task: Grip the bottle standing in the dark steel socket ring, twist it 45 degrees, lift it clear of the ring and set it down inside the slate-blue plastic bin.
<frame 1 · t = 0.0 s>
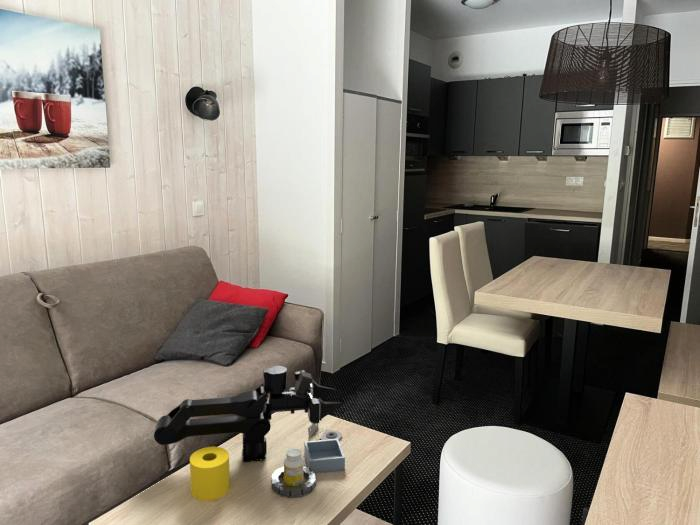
hand: (338, 397, 161), 17 cm above the table, tool horizontal, fingers open, 9 cm apart
yellow paper roll: (210, 489, 143), on the table
socket ring: (293, 484, 146), on the table
supplement bottle: (293, 484, 146), resting in socket ring
bin: (324, 461, 157), on the table
bracket: (325, 436, 172), on the table
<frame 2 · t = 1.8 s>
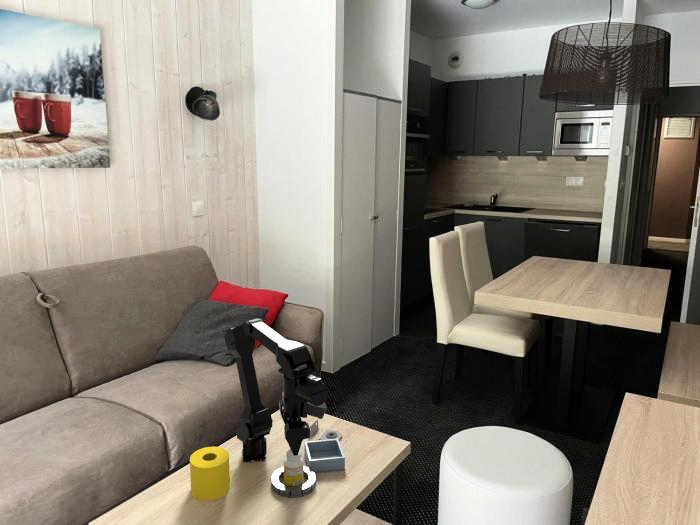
hand: (293, 445, 144), 11 cm above the table, tool pointing down, fingers open, 9 cm apart
nothing on the table moved.
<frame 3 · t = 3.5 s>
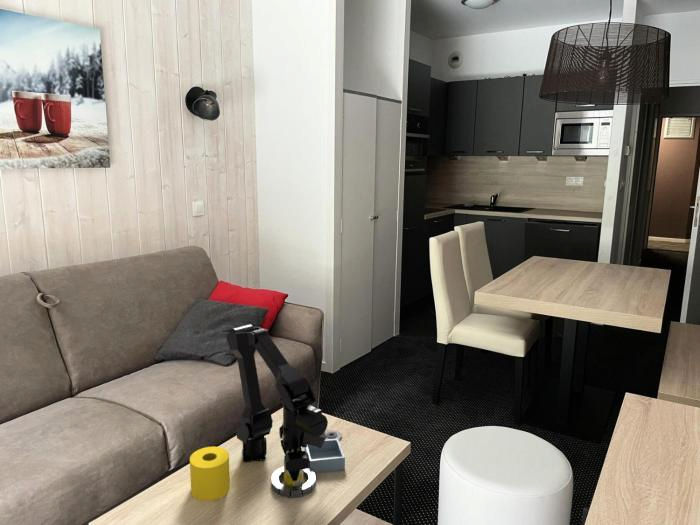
hand: (293, 474, 146), 3 cm above the table, tool pointing down, fingers closed on supplement bottle, 5 cm apart
supplement bottle: (293, 484, 146), resting in socket ring, touching gripper
everything else where it was.
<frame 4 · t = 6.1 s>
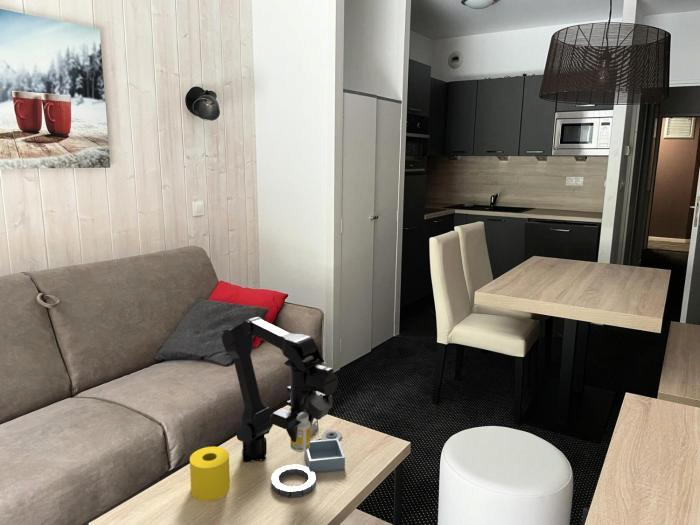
hand: (300, 436, 146), 13 cm above the table, tool pointing down, fingers closed on supplement bottle, 5 cm apart
supplement bottle: (300, 447, 146), point 10 cm above the table, touching gripper
everything else where it was.
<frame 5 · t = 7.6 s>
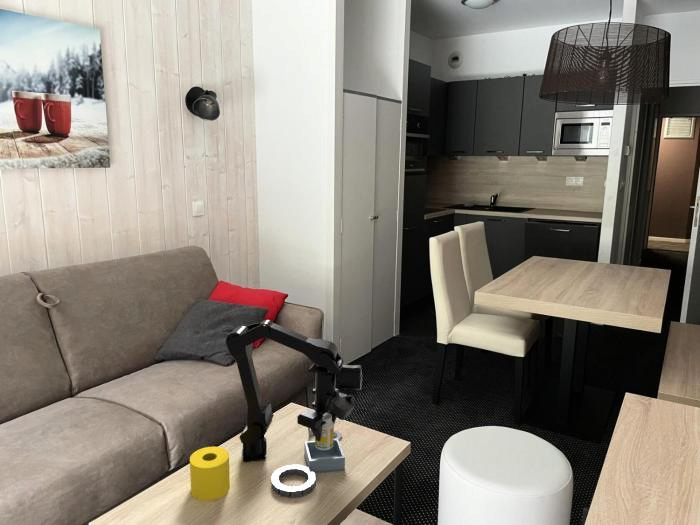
hand: (324, 436, 155), 8 cm above the table, tool pointing down, fingers closed on supplement bottle, 5 cm apart
supplement bottle: (324, 446, 156), point 5 cm above the table, touching gripper
everything else where it was.
when the fingers open (5 cm above the table, at t = 8.9 s): supplement bottle drops 2 cm, resting on bin.
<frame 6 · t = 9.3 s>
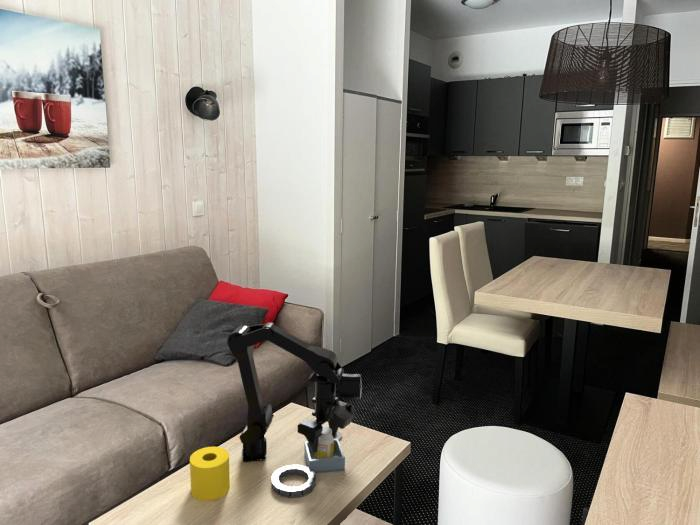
hand: (324, 444, 156), 5 cm above the table, tool pointing down, fingers open, 9 cm apart
supplement bottle: (323, 460, 157), resting on bin
everything else where it was.
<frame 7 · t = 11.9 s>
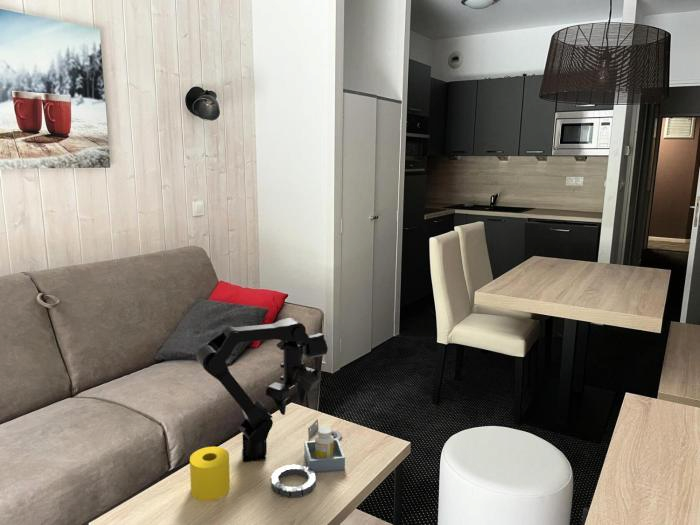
hand: (292, 408, 163), 12 cm above the table, tool pointing down, fingers open, 9 cm apart
nothing on the table moved.
at the end: supplement bottle inside the target area on the bin (0.0 cm from its centre), point 0.4 cm above the bin's base; supplement bottle tilted 0°; the gripper is holding nothing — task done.
